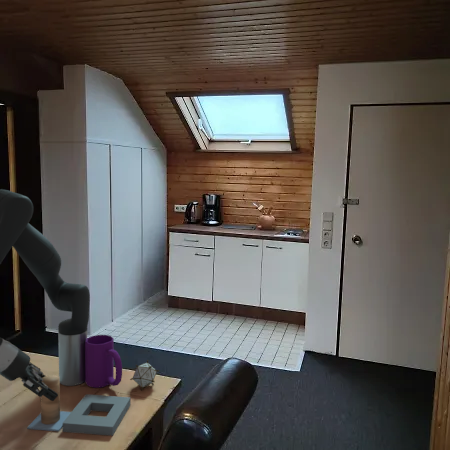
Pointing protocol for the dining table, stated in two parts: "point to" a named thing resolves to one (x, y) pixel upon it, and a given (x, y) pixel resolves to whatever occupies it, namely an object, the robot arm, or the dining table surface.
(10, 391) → the dining table surface
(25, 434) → the dining table surface
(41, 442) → the dining table surface
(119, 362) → the mug
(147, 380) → the game die
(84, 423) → the board
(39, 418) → the pad
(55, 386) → the peg
